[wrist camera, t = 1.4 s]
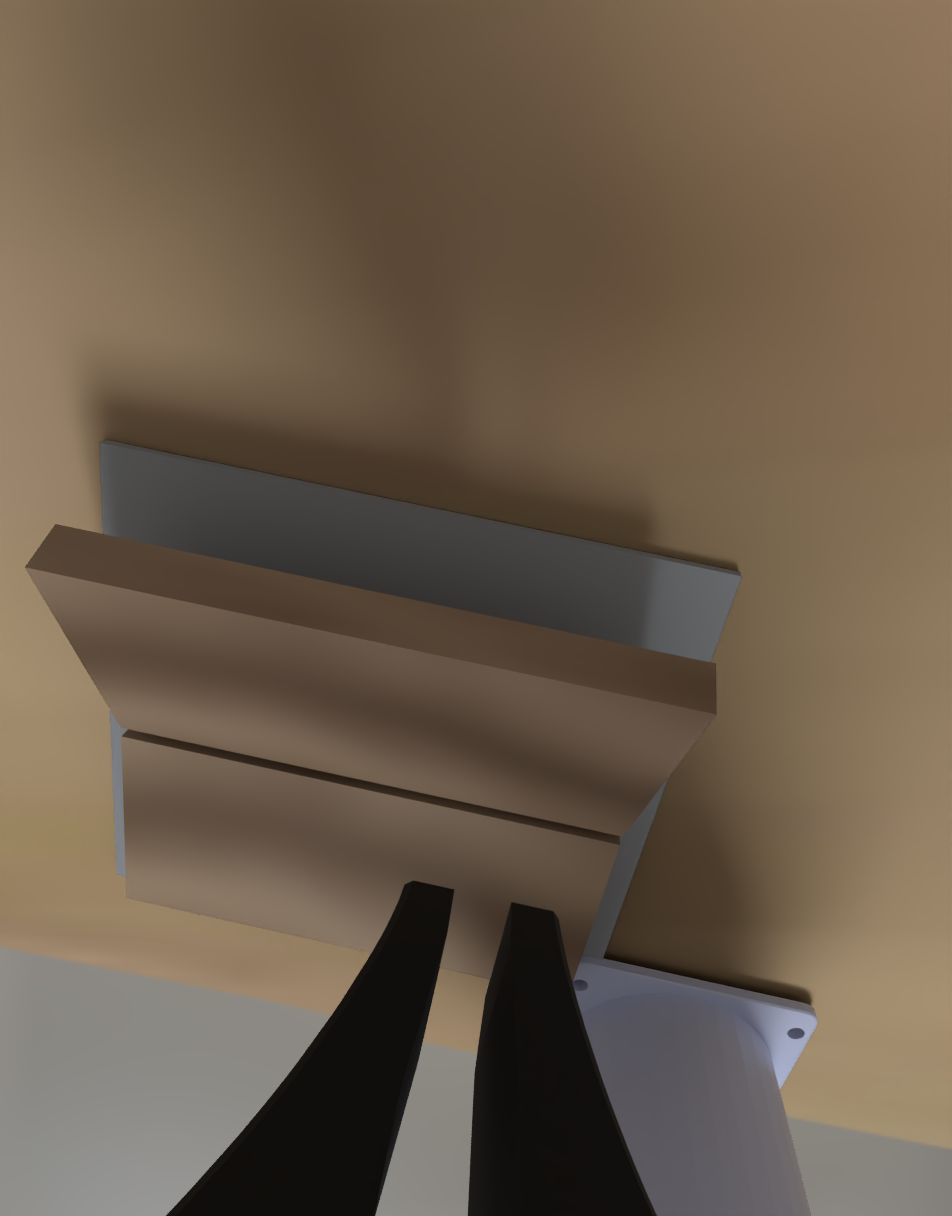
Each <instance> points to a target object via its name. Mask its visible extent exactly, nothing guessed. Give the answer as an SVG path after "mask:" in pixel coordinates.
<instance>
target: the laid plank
mask: <svg viewBox="0 0 952 1216" xmlns="http://www.w3.org/2000/svg"><path fill="white" fill-rule="evenodd" d="M121 746H122V777H123V807H124V838H125V868H126V898H128V899H133V900H137V901H142V902H146V903H151V904H155V905H160V906H164V907H169V908H173V909H178V910H182V911H187V912H191V913H196V914H200V915H205V916H209V917H214V918H218V919H222V920H227V921H231V922H236V923H240V924H245V925H249V926H254V927H258V928H263V929H267V930H272V931H276V932H281V933H285V934H290V935H294V936H299V937H303V938H308V939H312V940H317V941H321V942H326V943H330V944H335V945H339V946H344V947H348V948H353V949H357V950H362V951H366V952H371V953H372V951H373V949H374V948H375V946H376V944H377V942H378V941H379V939H380V937H381V935H382V934H383V932H384V930H385V928H386V926H387V924H388V922H389V920H390V918H391V916H392V914H393V912H394V910H395V907H396V905H397V903H398V901H399V898H400V895H401V893H402V890H403V887H404V884H407V883H409V882H411V881H413V880H414V881H419V882H423V883H428V884H432V885H437V886H441V887H446V888H450V889H455V890H454V896H453V902H452V908H451V915H450V921H449V927H448V933H447V937H446V942H445V946H444V950H443V955H442V959H441V964H440V968H442V969H447V970H451V971H456V972H460V973H465V974H469V975H474V976H478V977H483V978H487V979H490V978H491V975H492V971H493V967H494V964H495V960H496V956H497V953H498V949H499V945H500V942H501V938H502V935H503V931H504V927H505V924H506V920H507V916H508V913H509V909H510V905H511V902H514V903H518V904H523V905H528V906H532V907H537V908H541V909H546V910H550V911H554V913H555V914H556V916H557V917H558V918H559V923H560V929H561V935H562V940H563V944H564V949H565V954H566V958H567V962H568V967H569V971H570V975H571V979H572V982H573V981H574V978H575V975H576V972H577V969H578V966H579V963H580V960H581V958H582V955H583V952H584V949H585V946H586V943H587V940H588V937H589V934H590V931H591V929H592V926H593V923H594V920H595V917H596V914H597V911H598V908H599V905H600V902H601V900H602V897H603V894H604V891H605V888H606V885H607V882H608V879H609V876H610V874H611V871H612V868H613V865H614V862H615V859H616V856H617V853H618V850H619V847H620V836H617V835H613V834H608V833H603V832H599V831H594V830H590V829H585V828H580V827H576V826H571V825H567V824H562V823H557V822H553V821H548V820H544V819H539V818H534V817H530V816H525V815H521V814H516V813H511V812H507V811H502V810H498V809H493V808H488V807H484V806H479V805H475V804H470V803H465V802H461V801H456V800H452V799H447V798H442V797H438V796H433V795H429V794H424V793H419V792H415V791H410V790H406V789H401V788H396V787H392V786H387V785H383V784H378V783H373V782H369V781H364V780H360V779H355V778H350V777H346V776H341V775H337V774H332V773H327V772H323V771H318V770H314V769H309V768H304V767H300V766H295V765H291V764H286V763H281V762H277V761H272V760H268V759H263V758H258V757H254V756H249V755H245V754H240V753H235V752H231V751H226V750H222V749H217V748H212V747H208V746H203V745H199V744H194V743H189V742H185V741H180V740H176V739H171V738H166V737H162V736H157V735H153V734H148V733H143V732H139V731H134V730H130V729H128V730H127V731H126V732H125V733H124V734H123V735H122V736H121Z"/></svg>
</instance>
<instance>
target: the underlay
mask: <svg viewBox="0 0 952 1216" xmlns="http://www.w3.org/2000/svg"><path fill="white" fill-rule="evenodd" d="M99 445H100V471H101V496H102V521H103V534H105V535H109V536H114V537H119V538H124V539H128V540H133V541H138V542H143V543H147V544H152V545H157V546H161V547H166V548H171V549H176V550H180V551H185V552H190V553H195V554H199V555H204V556H209V557H214V558H218V559H223V560H228V561H233V562H237V563H242V564H247V565H251V566H256V567H261V568H266V569H270V570H275V571H280V572H285V573H289V574H294V575H299V576H304V577H308V578H313V579H318V580H322V581H327V582H332V583H337V584H341V585H346V586H351V587H356V588H360V589H365V590H370V591H375V592H379V593H384V594H389V595H393V596H398V597H403V598H408V599H412V600H417V601H422V602H427V603H431V604H436V605H441V606H446V607H450V608H455V609H460V610H465V611H469V612H474V613H479V614H483V615H488V616H493V617H498V618H502V619H507V620H512V621H517V622H521V623H526V624H531V625H536V626H540V627H545V628H550V629H554V630H559V631H564V632H569V633H573V634H578V635H583V636H588V637H592V638H597V639H602V640H607V641H611V642H616V643H621V644H626V645H630V646H635V647H640V648H644V649H649V650H654V651H659V652H663V653H668V654H673V655H678V656H682V657H687V658H692V659H697V660H701V661H706V662H711V660H712V657H713V654H714V652H715V649H716V646H717V643H718V641H719V638H720V635H721V632H722V630H723V627H724V624H725V621H726V619H727V616H728V613H729V610H730V608H731V605H732V602H733V599H734V597H735V594H736V591H737V588H738V586H739V583H740V580H741V577H742V576H741V574H740V572H738V571H734V570H729V569H724V568H719V567H714V566H710V565H705V564H700V563H695V562H690V561H686V560H681V559H676V558H671V557H666V556H661V555H657V554H652V553H647V552H642V551H637V550H633V549H628V548H623V547H618V546H613V545H609V544H604V543H599V542H594V541H589V540H585V539H580V538H575V537H570V536H565V535H561V534H556V533H551V532H546V531H541V530H537V529H532V528H527V527H522V526H517V525H513V524H508V523H503V522H498V521H493V520H489V519H484V518H479V517H474V516H469V515H464V514H460V513H455V512H450V511H445V510H440V509H436V508H431V507H426V506H421V505H416V504H412V503H407V502H402V501H397V500H392V499H388V498H383V497H378V496H373V495H368V494H364V493H359V492H354V491H349V490H344V489H340V488H335V487H330V486H325V485H320V484H316V483H311V482H306V481H301V480H296V479H291V478H287V477H282V476H277V475H272V474H267V473H263V472H258V471H253V470H248V469H243V468H239V467H234V466H229V465H224V464H219V463H215V462H210V461H205V460H200V459H195V458H191V457H186V456H181V455H176V454H171V453H167V452H162V451H157V450H152V449H147V448H143V447H138V446H133V445H128V444H123V443H119V442H114V441H109V440H105V441H102V442H100V443H99ZM110 721H111V746H112V771H113V796H114V821H115V847H116V872H117V875H121V876H125V877H126V868H125V838H124V807H123V777H122V746H121V736H122V735H123V734H124V733H125V732H126V731H127V730H128V729H125V728H121V727H120V725H119V724H118V722H117V720H116V719H115V717H114V715H113V714H112V712H111V710H110ZM668 778H669V777H668ZM667 781H668V779H667V780H666V781H665V783H664V784H663V785H662V787H661V788H660V789H659V790H658V792H657V793H656V794H655V796H654V797H653V798H652V800H651V801H650V802H649V804H648V805H647V806H646V808H645V809H644V810H643V811H642V813H641V814H640V815H639V817H638V818H637V819H636V821H635V822H634V823H633V825H632V826H631V827H630V829H629V830H628V831H627V832H626V834H625V835H624V836H623V837H622V836H620V847H619V850H618V853H617V856H616V859H615V862H614V865H613V868H612V871H611V874H610V876H609V879H608V882H607V885H606V888H605V891H604V894H603V897H602V900H601V902H600V905H599V908H598V911H597V914H596V917H595V920H594V923H593V926H592V929H591V931H590V934H589V937H588V940H587V943H586V946H585V949H584V952H583V955H582V956H588V957H593V958H597V959H602V960H603V957H604V954H605V952H606V949H607V946H608V943H609V941H610V938H611V935H612V932H613V930H614V927H615V924H616V921H617V919H618V916H619V913H620V910H621V908H622V905H623V902H624V899H625V897H626V894H627V891H628V888H629V886H630V883H631V880H632V877H633V875H634V872H635V869H636V866H637V864H638V861H639V858H640V855H641V853H642V850H643V847H644V844H645V842H646V839H647V836H648V833H649V830H650V828H651V825H652V822H653V819H654V817H655V814H656V811H657V808H658V806H659V803H660V800H661V797H662V795H663V792H664V789H665V786H666V784H667Z"/></svg>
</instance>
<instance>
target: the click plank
mask: <svg viewBox="0 0 952 1216" xmlns="http://www.w3.org/2000/svg"><path fill="white" fill-rule="evenodd" d="M25 568H26V570H27V572H28V573H29V575H30V577H31V578H32V580H33V582H34V583H35V585H36V587H37V588H38V590H39V592H40V593H41V595H42V597H43V598H44V600H45V602H46V603H47V605H48V607H49V608H50V610H51V612H52V613H53V615H54V617H55V618H56V620H57V622H58V623H59V625H60V627H61V629H62V630H63V632H64V634H65V635H66V637H67V639H68V640H69V642H70V644H71V645H72V647H73V649H74V650H75V652H76V654H77V655H78V657H79V659H80V660H81V662H82V664H83V665H84V667H85V669H86V670H87V672H88V674H89V675H90V677H91V679H92V680H93V682H94V684H95V685H96V687H97V689H98V690H99V692H100V694H101V695H102V697H103V699H104V700H105V702H106V704H107V705H108V707H109V709H110V710H111V712H112V714H113V715H114V717H115V719H116V720H117V722H118V724H119V725H120V727H121V728H125V729H130V730H134V731H139V732H143V733H148V734H153V735H157V736H162V737H166V738H171V739H176V740H180V741H185V742H189V743H194V744H199V745H203V746H208V747H212V748H217V749H222V750H226V751H231V752H235V753H240V754H245V755H249V756H254V757H258V758H263V759H268V760H272V761H277V762H281V763H286V764H291V765H295V766H300V767H304V768H309V769H314V770H318V771H323V772H327V773H332V774H337V775H341V776H346V777H350V778H355V779H360V780H364V781H369V782H373V783H378V784H383V785H387V786H392V787H396V788H401V789H406V790H410V791H415V792H419V793H424V794H429V795H433V796H438V797H442V798H447V799H452V800H456V801H461V802H465V803H470V804H475V805H479V806H484V807H488V808H493V809H498V810H502V811H507V812H511V813H516V814H521V815H525V816H530V817H534V818H539V819H544V820H548V821H553V822H557V823H562V824H567V825H571V826H576V827H580V828H585V829H590V830H594V831H599V832H603V833H608V834H613V835H617V836H622V837H623V836H624V835H625V834H626V832H627V831H628V830H629V829H630V827H631V826H632V825H633V823H634V822H635V821H636V819H637V818H638V817H639V815H640V814H641V813H642V811H643V810H644V809H645V808H646V806H647V805H648V804H649V802H650V801H651V800H652V798H653V797H654V796H655V794H656V793H657V792H658V790H659V789H660V788H661V787H662V785H663V784H664V783H665V781H666V780H667V779H668V777H669V776H670V775H671V773H672V772H673V771H674V770H675V768H676V767H677V766H678V764H679V763H680V762H681V760H682V759H683V758H684V756H685V755H686V754H687V752H688V751H689V750H690V749H691V747H692V746H693V745H694V743H695V742H696V741H697V739H698V738H699V737H700V735H701V734H702V733H703V732H704V730H705V729H706V728H707V726H708V725H709V724H710V722H711V721H712V720H713V718H714V717H715V716H716V664H715V663H711V662H706V661H701V660H697V659H692V658H687V657H682V656H678V655H673V654H668V653H663V652H659V651H654V650H649V649H644V648H640V647H635V646H630V645H626V644H621V643H616V642H611V641H607V640H602V639H597V638H592V637H588V636H583V635H578V634H573V633H569V632H564V631H559V630H554V629H550V628H545V627H540V626H536V625H531V624H526V623H521V622H517V621H512V620H507V619H502V618H498V617H493V616H488V615H483V614H479V613H474V612H469V611H465V610H460V609H455V608H450V607H446V606H441V605H436V604H431V603H427V602H422V601H417V600H412V599H408V598H403V597H398V596H393V595H389V594H384V593H379V592H375V591H370V590H365V589H360V588H356V587H351V586H346V585H341V584H337V583H332V582H327V581H322V580H318V579H313V578H308V577H304V576H299V575H294V574H289V573H285V572H280V571H275V570H270V569H266V568H261V567H256V566H251V565H247V564H242V563H237V562H233V561H228V560H223V559H218V558H214V557H209V556H204V555H199V554H195V553H190V552H185V551H180V550H176V549H171V548H166V547H161V546H157V545H152V544H147V543H143V542H138V541H133V540H128V539H124V538H119V537H114V536H109V535H105V534H100V533H95V532H90V531H86V530H81V529H76V528H72V527H67V526H62V525H57V524H55V526H54V527H53V528H52V530H51V531H50V533H49V534H48V535H47V537H46V538H45V540H44V541H43V542H42V544H41V545H40V547H39V548H38V550H37V551H36V552H35V554H34V555H33V557H32V558H31V559H30V561H29V562H28V564H27V565H26V567H25Z"/></svg>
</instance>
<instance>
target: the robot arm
mask: <svg viewBox="0 0 952 1216" xmlns="http://www.w3.org/2000/svg"><path fill="white" fill-rule="evenodd" d="M454 890H455V889H450V888H446V887H441V886H437V885H432V884H428V883H423V882H419V881H414V880H413V881H411V882H409V883H407V884H404V887H403V890H402V893H401V895H400V898H399V901H398V903H397V905H396V907H395V910H394V912H393V914H392V916H391V918H390V920H389V922H388V924H387V926H386V928H385V930H384V932H383V934H382V935H381V937H380V939H379V941H378V942H377V944H376V946H375V948H374V949H373V951H372V953H371V955H370V956H369V958H368V960H367V962H366V963H365V965H364V966H363V968H362V969H361V971H360V973H359V974H358V976H357V977H356V979H355V980H354V982H353V984H352V985H351V987H350V988H349V990H348V991H347V993H346V995H345V996H344V998H343V999H342V1001H341V1002H340V1004H339V1005H338V1007H337V1008H336V1010H335V1011H334V1013H333V1014H332V1016H331V1017H330V1018H329V1020H328V1021H327V1022H326V1024H325V1025H324V1027H323V1028H322V1029H321V1031H320V1032H319V1034H318V1035H317V1036H316V1038H315V1039H314V1041H313V1042H312V1043H311V1045H310V1046H309V1047H308V1049H307V1050H306V1051H305V1053H304V1054H303V1056H302V1057H301V1059H300V1060H299V1061H298V1063H297V1064H296V1065H295V1067H294V1068H293V1069H292V1070H291V1072H290V1073H289V1075H288V1076H287V1077H286V1078H285V1079H284V1081H283V1082H282V1083H281V1084H280V1086H279V1087H278V1088H277V1090H276V1091H275V1092H274V1093H273V1095H272V1096H271V1097H270V1098H269V1100H268V1101H267V1102H266V1103H265V1105H264V1106H263V1107H262V1108H261V1109H260V1110H259V1112H258V1113H257V1114H256V1116H255V1117H254V1118H253V1119H252V1120H251V1121H250V1123H249V1124H248V1125H247V1126H246V1127H245V1129H244V1130H243V1131H242V1132H241V1133H240V1134H239V1136H238V1137H237V1138H236V1139H235V1140H234V1141H233V1143H232V1144H231V1145H230V1146H229V1147H228V1148H227V1149H226V1150H225V1151H224V1153H223V1154H222V1155H221V1156H220V1157H219V1158H218V1159H217V1161H216V1162H215V1163H214V1164H213V1165H212V1166H211V1167H210V1168H209V1170H208V1171H207V1172H206V1173H205V1174H204V1175H203V1176H202V1177H201V1179H200V1180H199V1181H198V1182H197V1183H196V1184H195V1185H194V1186H193V1187H192V1188H191V1190H190V1191H189V1192H188V1193H187V1194H186V1195H185V1196H184V1197H183V1198H182V1199H181V1200H180V1202H178V1204H177V1205H176V1206H175V1207H174V1208H173V1209H172V1210H171V1211H170V1212H169V1213H168V1214H167V1215H166V1216H375V1214H376V1211H377V1207H378V1203H379V1200H380V1196H381V1193H382V1189H383V1186H384V1182H385V1178H386V1175H387V1171H388V1167H389V1164H390V1160H391V1157H392V1153H393V1150H394V1146H395V1143H396V1139H397V1135H398V1131H399V1128H400V1125H401V1121H402V1117H403V1114H404V1110H405V1107H406V1103H407V1099H408V1096H409V1092H410V1089H411V1085H412V1081H413V1078H414V1074H415V1070H416V1067H417V1063H418V1059H419V1055H420V1051H421V1047H422V1042H423V1038H424V1033H425V1029H426V1025H427V1020H428V1016H429V1012H430V1007H431V1003H432V998H433V994H434V990H435V985H436V981H437V977H438V972H439V968H440V964H441V959H442V955H443V950H444V946H445V942H446V937H447V933H448V927H449V921H450V915H451V908H452V902H453V896H454ZM581 980H582V981H581ZM817 1023H818V1020H817V1017H816V1014H815V1011H814V1008H812V1007H811V1006H810V1005H808V1004H805V1003H802V1002H798V1001H793V1000H789V999H784V998H780V997H775V996H771V995H766V994H762V993H757V992H753V991H748V990H744V989H739V988H735V987H730V986H726V985H721V984H717V983H712V982H708V981H703V980H699V979H694V978H689V977H685V976H680V975H676V974H671V973H667V972H662V971H658V970H653V969H649V968H644V967H640V966H635V965H631V964H626V963H622V962H617V961H613V960H608V959H604V958H603V960H602V959H597V958H593V957H588V956H582V958H581V960H580V963H579V966H578V969H577V972H576V975H575V978H574V981H573V982H572V979H571V975H570V971H569V967H568V962H567V958H566V954H565V949H564V944H563V940H562V935H561V929H560V923H559V918H558V917H557V916H556V914H555V913H554V911H550V910H546V909H541V908H537V907H532V906H528V905H523V904H518V903H514V902H511V905H510V909H509V913H508V916H507V920H506V924H505V927H504V931H503V935H502V938H501V942H500V945H499V949H498V953H497V956H496V960H495V964H494V967H493V971H492V975H491V978H490V982H489V986H488V989H487V993H486V997H485V1003H484V1010H483V1017H482V1024H481V1031H480V1038H479V1045H478V1053H477V1060H476V1067H475V1079H474V1097H473V1098H474V1099H473V1118H472V1138H471V1159H470V1182H469V1202H468V1216H811V1212H810V1208H809V1204H808V1200H807V1197H806V1192H805V1188H804V1185H803V1181H802V1177H801V1173H800V1169H799V1165H798V1161H797V1157H796V1153H795V1149H794V1145H793V1141H792V1137H791V1133H790V1129H789V1125H788V1121H787V1117H786V1113H785V1109H784V1105H783V1101H782V1097H781V1093H780V1089H781V1087H782V1085H783V1084H784V1082H785V1080H786V1078H787V1077H788V1075H789V1073H790V1071H791V1070H792V1068H793V1066H794V1064H795V1063H796V1061H797V1059H798V1057H799V1056H800V1054H801V1052H802V1050H803V1049H804V1047H805V1045H806V1044H807V1042H808V1040H809V1038H810V1037H811V1035H812V1033H813V1031H814V1030H815V1028H816V1026H817Z"/></svg>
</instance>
